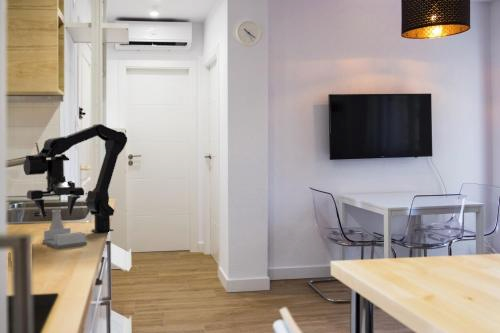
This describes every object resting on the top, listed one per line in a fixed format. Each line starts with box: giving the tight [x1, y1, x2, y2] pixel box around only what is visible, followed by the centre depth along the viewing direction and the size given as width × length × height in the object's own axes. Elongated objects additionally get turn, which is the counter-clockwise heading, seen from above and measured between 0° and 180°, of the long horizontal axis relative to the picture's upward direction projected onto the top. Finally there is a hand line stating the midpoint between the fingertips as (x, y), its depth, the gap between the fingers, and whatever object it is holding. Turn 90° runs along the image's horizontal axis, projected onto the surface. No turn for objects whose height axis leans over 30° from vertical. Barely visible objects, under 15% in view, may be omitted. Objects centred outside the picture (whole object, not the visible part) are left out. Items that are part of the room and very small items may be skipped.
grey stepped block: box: [42, 227, 88, 249], centre depth 180 cm, size 14×10×4 cm
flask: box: [49, 209, 65, 230], centre depth 191 cm, size 7×7×10 cm
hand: (56, 216), depth 191 cm, fingers open, 9 cm apart
